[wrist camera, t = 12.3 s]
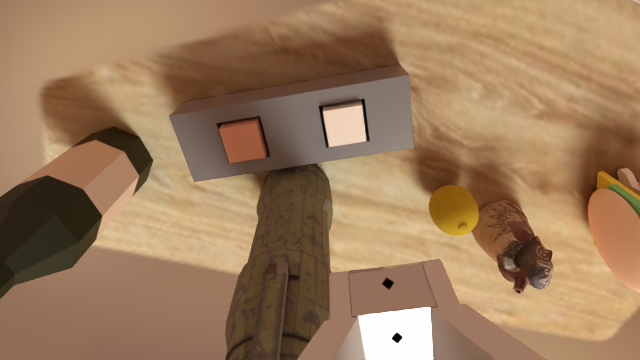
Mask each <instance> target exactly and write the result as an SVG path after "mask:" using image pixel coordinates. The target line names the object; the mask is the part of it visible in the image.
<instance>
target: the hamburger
mask: <svg viewBox="0 0 640 360" xmlns="http://www.w3.org/2000/svg"><path fill="white" fill-rule="evenodd" d="M617 175H618V179H619V181H617V180H616V179H614V178H613V177H611V176H610V175H609V174H607V173H606V172H604V171H602V172H598V173H597V190H596V191H595V192H594V193H593V194H592V195H591V197H590V200H589V204H588V220H589V226H590V230H591V233H592V236H593V239H594V241H595V245H596V246H597V248H598V250H599V252H600V254H601V256H602V258H603V259H604V261H605V262H606V264H607V265H608V267H609V268H610V269H611V271H612V272H613V273H614V274H615V275H616V276H617V277H618V279H619V280H621V281H622V282H623V283H624V284H625V285H626V286H628V287H629V288H631V289H633V290H635V291H637V292H640V183H637V181H636V179H635V176H634V174H633V173H632V172H631V171H630V170H629V169H628V168H623V169H619V170H618V171H617Z"/></svg>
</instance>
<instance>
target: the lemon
mask: <svg viewBox="0 0 640 360" xmlns="http://www.w3.org/2000/svg"><path fill="white" fill-rule="evenodd" d="M429 212H430V215H431V218H432V220H433V222H434V223H435V224H436V225H437V227H438V228H439V229H440V230H442V231H443V232H445V233H447V234H449V235H454V236H459V235H464V234H467V233H469V232H470V231H471V230H473V229H474V227H475V226H476V224H477V222H478V219H479V210H478V205H477V203H476V201H475V199H474V197H473V196H472V195H471V194H470V193H469V192H468V191H467V190H466V189H464V188H462V187H461V186H457V185H445V186H442V187H440V188H439V189H437V190H436V191H435V192H434V193H433V194H432V196H431V198H430V202H429Z"/></svg>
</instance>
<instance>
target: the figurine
mask: <svg viewBox="0 0 640 360" xmlns="http://www.w3.org/2000/svg"><path fill="white" fill-rule="evenodd" d="M472 232H473V235H474V238H475V240H476V242H477V243H478V244H479V246H480V247H481V248H482V249H483V250H484V251H485V252H486V253H487V254H488V255H489V256H490V257H491V258H492V259H493V260H494V261H495V262H496V263H497V264H498V268H499V270H500V272H501V274H502V275H503V277H504V278H505V279H507V280H508V281H510V282H513V283H515V284H514V288H513V290H514V291H515V292H516V293H519V294H522V292H523V291H524V289H525V287H526V285H527V284H528V285H531V286H533V287H534V288H537V289H544V288H545V287H547V286H548V284H549V283H550V282H551V281H552V277H553V264H552V262H551V258H552V253H553V252H552V251H551V250H547V249H545V247H544V246H543V245H542V244H541V242H540V239H539V237H538V236H535V235H534V233H533V231H532V229H531V227H530V225H529V223H528V220H527V217H526V216H525V214H524V213H523V211H522V209H520V208H519V207H518V206H516V205H515V204H513V203H512V202H510V201H508V200H501V201H496V202H492V203H490V204H488V205H486V206H485V207H483V208H482V209H481V210H480V211H479V219H478V222H477V224H476V226H475V227H474V229H473V230H472ZM505 268H506V269H505ZM507 269H508V270H507Z"/></svg>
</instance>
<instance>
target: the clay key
mask: <svg viewBox="0 0 640 360" xmlns="http://www.w3.org/2000/svg"><path fill="white" fill-rule="evenodd" d="M219 132H220V135H221V138H222V141H223V144H224V147H225V150H226V153H227V157H228V160H229V163H234V162H241V161H247V160H253V159H260V158H265V157H266V154H267V151H268V144H267V141H266V137H265V133H264V129H263V125H262V121H261V118H260V116H256V117H250V118H244V119H238V120H233V121H227V122H223V124H222V125H221V127H220V128H219Z"/></svg>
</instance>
